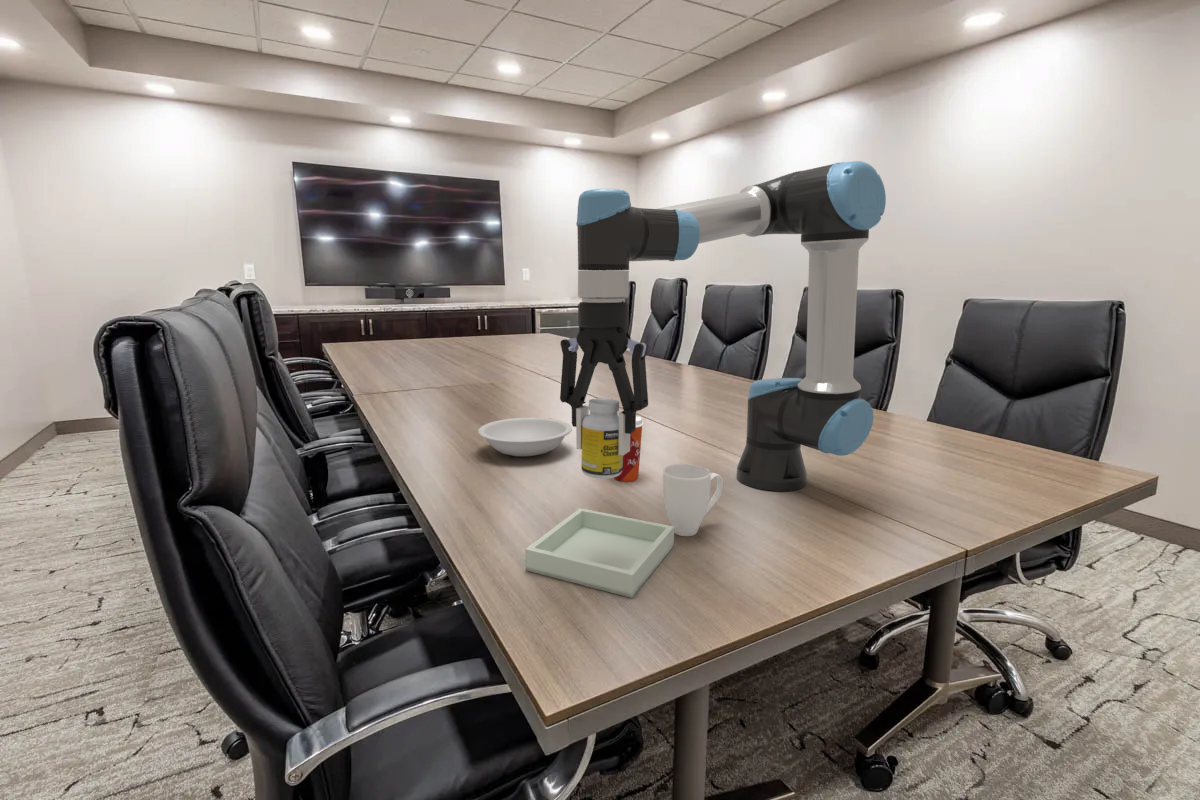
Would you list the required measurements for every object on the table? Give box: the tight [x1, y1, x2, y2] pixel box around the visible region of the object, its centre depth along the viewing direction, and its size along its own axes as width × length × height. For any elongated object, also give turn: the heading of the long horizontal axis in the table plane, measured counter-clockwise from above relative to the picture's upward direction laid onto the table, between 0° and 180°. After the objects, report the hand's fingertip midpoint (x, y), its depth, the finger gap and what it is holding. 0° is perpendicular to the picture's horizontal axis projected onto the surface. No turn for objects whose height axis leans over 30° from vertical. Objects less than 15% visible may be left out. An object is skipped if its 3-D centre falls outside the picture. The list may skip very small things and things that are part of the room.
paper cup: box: [614, 414, 645, 483], centre depth 130 cm, size 8×8×14 cm
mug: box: [662, 463, 724, 537], centre depth 103 cm, size 12×8×11 cm
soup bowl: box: [477, 417, 573, 457], centre depth 149 cm, size 24×24×7 cm
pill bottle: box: [580, 397, 623, 480], centre depth 89 cm, size 6×6×12 cm
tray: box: [524, 507, 675, 599], centre depth 93 cm, size 18×18×4 cm
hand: (603, 449), depth 90 cm, fingers closed on pill bottle, 6 cm apart
